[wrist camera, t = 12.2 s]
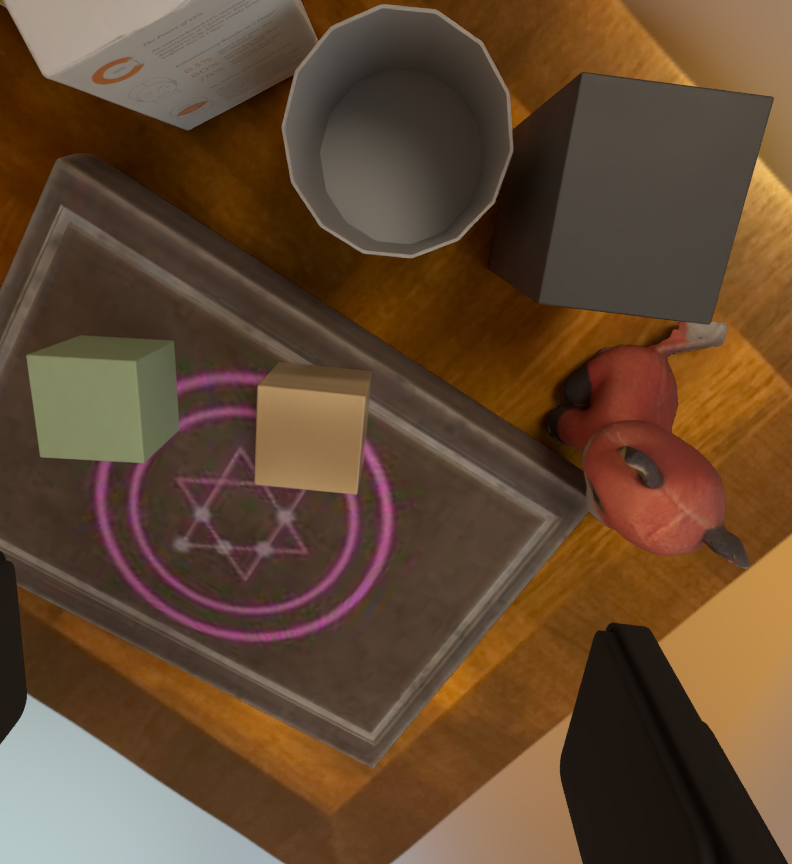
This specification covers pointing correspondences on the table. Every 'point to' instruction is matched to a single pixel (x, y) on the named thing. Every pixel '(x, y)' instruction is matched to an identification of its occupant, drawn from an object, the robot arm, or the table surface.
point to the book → (257, 504)
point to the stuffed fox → (645, 449)
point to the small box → (167, 50)
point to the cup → (398, 131)
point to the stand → (627, 196)
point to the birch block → (312, 427)
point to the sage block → (104, 398)
